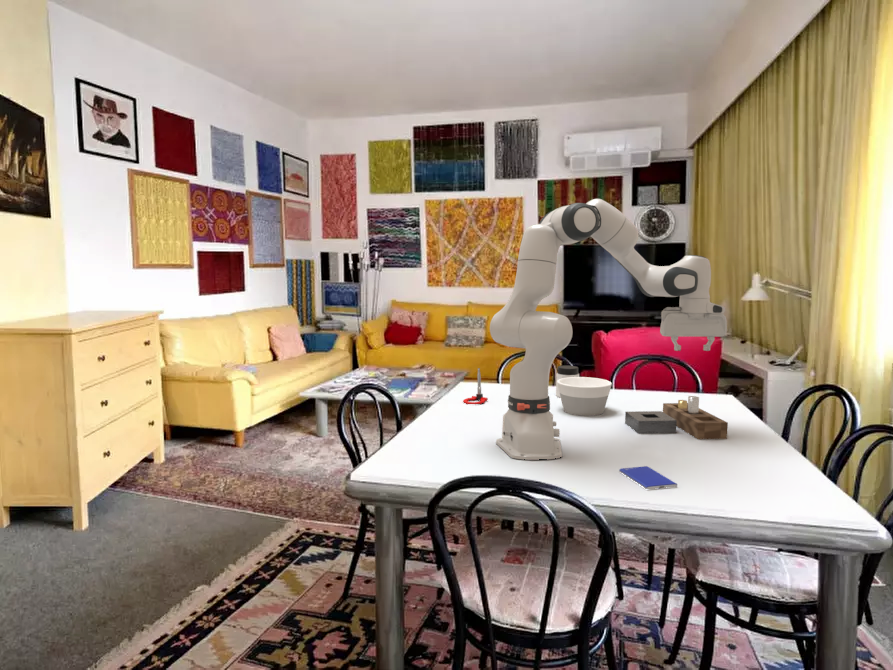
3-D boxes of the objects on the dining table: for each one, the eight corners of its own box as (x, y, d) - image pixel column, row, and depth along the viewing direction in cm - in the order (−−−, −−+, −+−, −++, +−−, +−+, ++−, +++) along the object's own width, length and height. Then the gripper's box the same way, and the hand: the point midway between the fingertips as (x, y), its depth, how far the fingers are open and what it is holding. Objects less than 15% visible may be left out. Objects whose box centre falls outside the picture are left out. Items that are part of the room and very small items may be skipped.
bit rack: (726, 438, 177) (727, 422, 177) (697, 439, 177) (698, 423, 176) (688, 417, 203) (688, 403, 202) (662, 417, 203) (663, 403, 202)
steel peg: (699, 428, 188) (700, 398, 187) (689, 428, 188) (691, 398, 187) (694, 426, 191) (696, 396, 190) (685, 426, 191) (686, 396, 190)
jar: (563, 393, 242) (563, 364, 241) (581, 396, 237) (582, 366, 236) (552, 397, 235) (553, 367, 234) (571, 399, 230) (572, 369, 229)
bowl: (582, 402, 226) (583, 375, 225) (622, 412, 210) (623, 383, 209) (545, 409, 215) (545, 380, 214) (584, 420, 199) (585, 389, 198)
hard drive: (619, 468, 148) (646, 486, 136) (648, 465, 150) (677, 482, 138) (618, 474, 148) (646, 492, 136) (647, 471, 150) (677, 489, 138)
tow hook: (478, 407, 221) (490, 401, 228) (477, 373, 219) (489, 368, 227) (459, 404, 225) (471, 398, 233) (458, 371, 224) (470, 366, 231)
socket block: (676, 433, 184) (676, 420, 183) (638, 433, 183) (638, 420, 183) (660, 423, 195) (661, 411, 195) (625, 423, 195) (625, 411, 195)
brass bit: (687, 422, 196) (688, 401, 196) (679, 422, 196) (680, 401, 196) (684, 420, 199) (684, 399, 198) (675, 420, 199) (676, 399, 198)
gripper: (665, 307, 182) (663, 351, 184) (730, 307, 183) (728, 351, 184) (657, 306, 189) (655, 349, 190) (720, 306, 189) (718, 349, 191)
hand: (692, 350), depth 187 cm, fingers open, 8 cm apart
